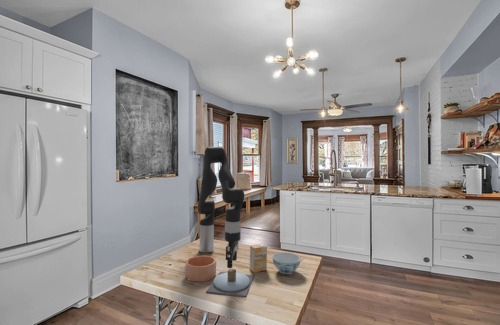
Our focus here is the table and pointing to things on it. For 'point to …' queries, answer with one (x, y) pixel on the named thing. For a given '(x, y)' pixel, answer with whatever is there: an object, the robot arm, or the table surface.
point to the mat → (238, 293)
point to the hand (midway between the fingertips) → (232, 263)
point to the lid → (231, 281)
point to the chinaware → (286, 262)
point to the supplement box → (258, 258)
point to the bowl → (200, 268)
